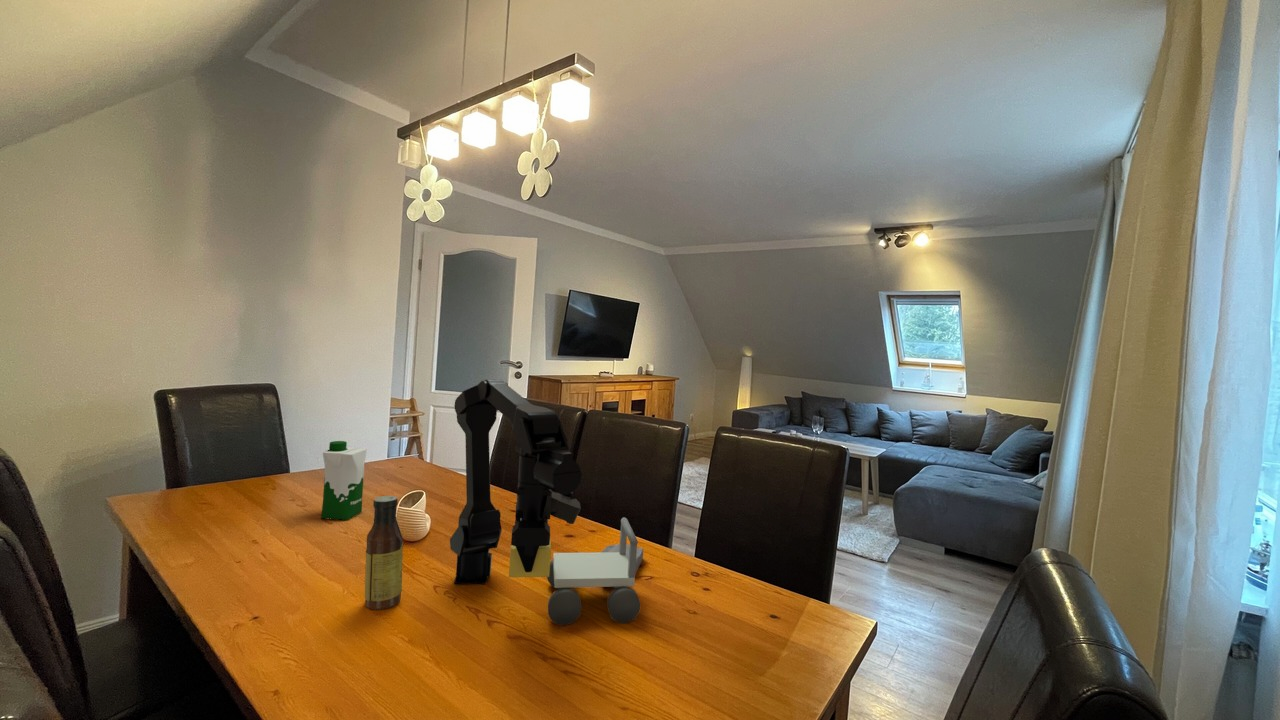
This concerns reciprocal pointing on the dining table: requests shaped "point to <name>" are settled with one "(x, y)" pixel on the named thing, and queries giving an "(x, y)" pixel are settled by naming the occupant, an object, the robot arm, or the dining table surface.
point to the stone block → (616, 549)
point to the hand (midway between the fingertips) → (528, 565)
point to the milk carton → (343, 481)
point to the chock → (539, 567)
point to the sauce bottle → (384, 556)
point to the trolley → (595, 580)
